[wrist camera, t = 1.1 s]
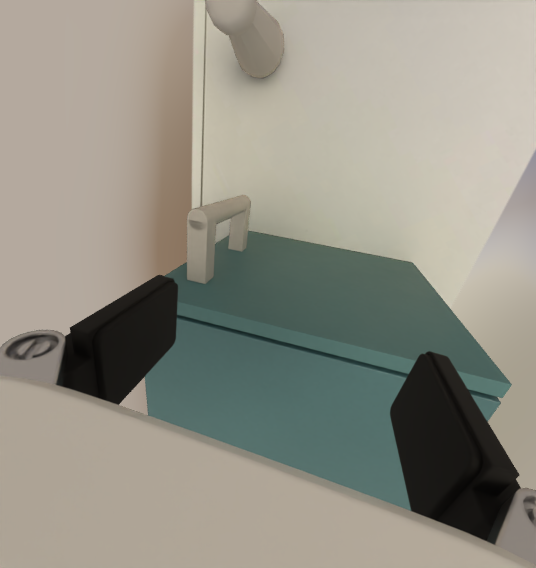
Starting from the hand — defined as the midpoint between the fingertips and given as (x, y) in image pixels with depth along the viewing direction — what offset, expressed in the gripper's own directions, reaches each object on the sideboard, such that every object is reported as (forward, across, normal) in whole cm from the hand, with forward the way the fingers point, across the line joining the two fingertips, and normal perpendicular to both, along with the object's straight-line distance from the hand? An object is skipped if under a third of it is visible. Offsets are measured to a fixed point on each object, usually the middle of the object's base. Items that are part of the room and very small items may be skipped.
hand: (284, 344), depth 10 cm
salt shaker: (+32, +12, -17) cm, 38 cm away
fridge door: (+32, -1, +2) cm, 32 cm away
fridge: (+32, -2, +15) cm, 35 cm away
